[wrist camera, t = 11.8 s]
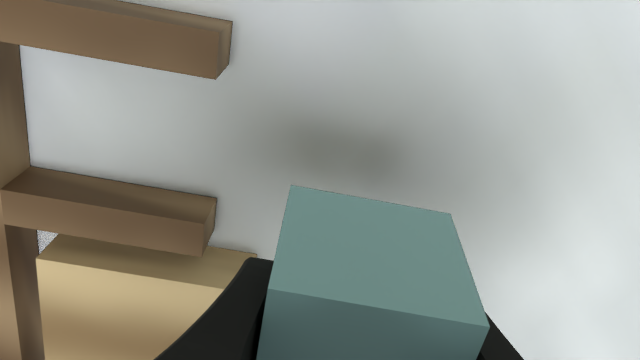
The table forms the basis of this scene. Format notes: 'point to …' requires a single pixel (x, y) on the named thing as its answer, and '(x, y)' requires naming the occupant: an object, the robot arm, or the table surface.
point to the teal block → (369, 284)
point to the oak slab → (124, 296)
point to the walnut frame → (77, 190)
